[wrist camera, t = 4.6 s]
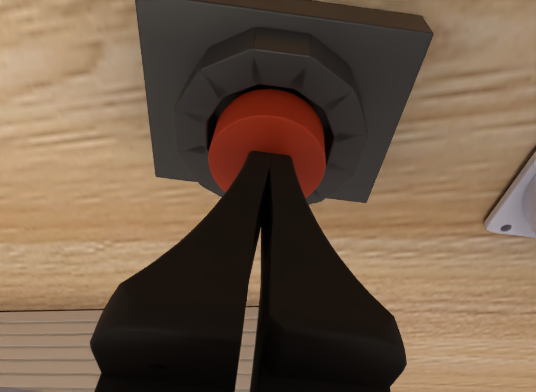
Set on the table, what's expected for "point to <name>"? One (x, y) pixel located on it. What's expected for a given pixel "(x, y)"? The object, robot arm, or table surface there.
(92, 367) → the long wooden block
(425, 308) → the table surface
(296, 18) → the button block
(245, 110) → the button
